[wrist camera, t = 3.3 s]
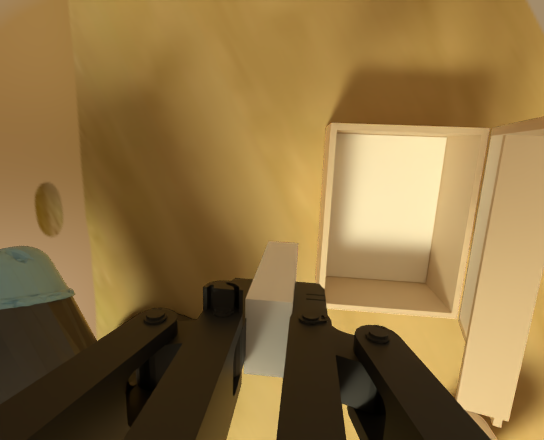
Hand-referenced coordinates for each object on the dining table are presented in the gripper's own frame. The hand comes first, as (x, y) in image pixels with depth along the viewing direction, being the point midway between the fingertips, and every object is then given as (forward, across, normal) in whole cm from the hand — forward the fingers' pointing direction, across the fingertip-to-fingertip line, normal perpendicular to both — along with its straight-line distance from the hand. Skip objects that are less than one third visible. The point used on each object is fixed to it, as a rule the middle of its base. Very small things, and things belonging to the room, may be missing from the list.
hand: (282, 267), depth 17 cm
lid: (+6, +11, 0) cm, 13 cm away
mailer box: (+19, +9, 0) cm, 21 cm away
